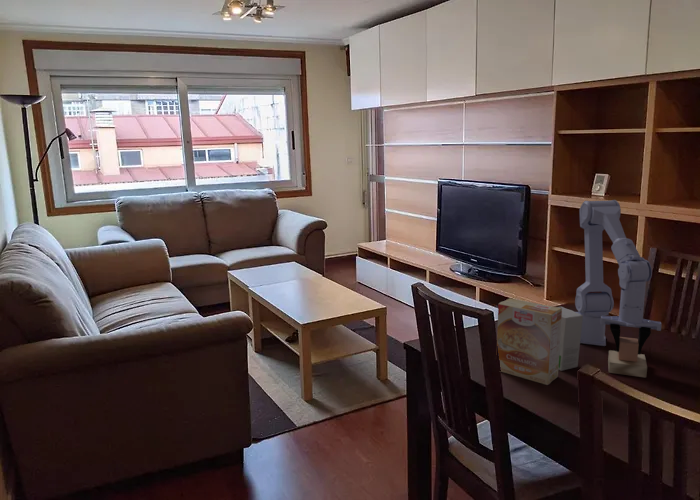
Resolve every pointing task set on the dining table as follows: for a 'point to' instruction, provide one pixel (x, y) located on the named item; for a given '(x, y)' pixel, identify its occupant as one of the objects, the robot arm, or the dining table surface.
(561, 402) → the dining table surface
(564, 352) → the skincare box
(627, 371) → the beech slab
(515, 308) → the coffeecake box
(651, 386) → the dining table surface
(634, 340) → the terracotta block
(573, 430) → the dining table surface
